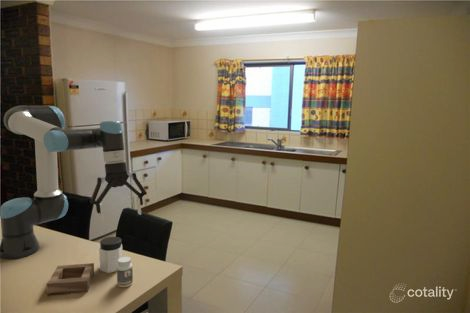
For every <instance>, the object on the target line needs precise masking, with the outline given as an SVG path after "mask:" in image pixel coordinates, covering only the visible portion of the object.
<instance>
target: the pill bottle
mask: <svg viewBox="0 0 470 313" xmlns="http://www.w3.org/2000/svg"><path fill="white" fill-rule="evenodd" d="M133 279H134V276H133V263H132V258H131V257H130V256H122V257H121V258H119V259H118V266H117V271H116V285H117V286H118V287H119V288H127V287H130V286H131V285H132V284H133V283H134V280H133Z"/></svg>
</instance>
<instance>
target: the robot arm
mask: <svg viewBox="0 0 470 313" xmlns="http://www.w3.org/2000/svg"><path fill="white" fill-rule="evenodd" d="M3 124H4V127H5V128H6V129H7V130H8V131H10V132H12V133H14V134H16V135H24V136H27V137H30V138H31V139H34V149H35V151H34V152H35V168H36V169H35V170H36V187H37V188H36V189H37V190H36V191H35V192H34V193H33V199H32V198H30V197H25V196H24V197H17V198H13V199H9V200H8V201H5V202H4V203H3V204H2V205H1V206H0V227H1V240H0V258H1V259H6V260H12V259H13V260H15V259H21V258H25V257H28V256H30V255H33V254H34V253H36V252H38V251H39V248H40V243H39V240H38V238H37V236H36V234H35V231H34V226H37V225H40V224H44V223H49V222H51V221H56V220H58V219H61V218H63V217H64V216H66V214H67V212H68V209H69V202H68V197H67V196H66V195H65V194H64V193H63V190H60V188H59V170H58V153H62V152H69V151H79V150H87V149H88V150H89V149H99V148H102V153H103V154H102V155H103V162H104V171H105V175H104V176H105V177H101V176H98V177H97V179H96V185H95V187H94V191H93V193H92V196H91V197H90V200H89V202H90V204H91V205H95V208H96V213H97V214H100V215H99V216H100V221H101V222H102V223H104V222H105V219H104V218H105V217H104V210H103V208H104V207H103V204H102V201H103V200H104V198H105V197H106V195H107V194H108V193H109V191H110V190H111V189H112V188H118V187H123V186H126V187H127V188H128V189H129V190H130V191H132V192H133V194H134V195H136V197H135V199H136V201H135V202H136V210H137V214H138V215H139V216H141V215H142V207H141V206H143V205H144V201H143V197H144V196H146V195H147V191H146V190H145V188H144V187H143V184H141V182H140V181H139V179H138V177H137V174H136V172H131V173H128V170H127V162H126V161H125V160H126V152H125V145H124V144H125V143H124V135H123V132H124V131H123V128H122V122H121V121H119V120H106V121H101V122H100V123H99V127H98V128H97V127H96V128H83V129H82V128H81V129H79V128H77V129H65V127H66V118H65V116H64V114H63V112H62V110H61V109H60V108H59V107H57V106H54V105H17V106H16V105H15V106H13V107H11V108H9V109H8V110H7V111H6V112H5V114H4V116H3ZM129 178H130V179H131V180H133V182H134V183H135V185H136V186H137V188H138V190H140V191H138V190H137V189H136V188H135V187H133V185H131V184H130V182H128V180H129ZM104 181H105V182H106V183H107V184H106V186H105V188H104V189H103V190H102V191H101V193H100V195H99V196H98V194H99V191H100V189H101V186H102V184H103V183H104ZM97 196H98V198H97Z"/></svg>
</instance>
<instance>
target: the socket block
mask: <svg viewBox="0 0 470 313" xmlns="http://www.w3.org/2000/svg"><path fill="white" fill-rule="evenodd" d="M94 275H95V263H94V262H93V263H92V262H91V263H79V264H63V265H57V266H56V267H55V270H54V272H52V274H51V276H50V278H49V280H48V281H47V283H46V289H47V290H46V291H47V297H49V296H50V297H51V296H52V297H53V296H57V295H58V296H61V295H69V294H71V293H73V294H82V292H84V293H88V291H89V289H90V287H91V285H92V280H93V278H94ZM71 295H72V294H71Z"/></svg>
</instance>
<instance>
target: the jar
mask: <svg viewBox="0 0 470 313" xmlns="http://www.w3.org/2000/svg"><path fill="white" fill-rule="evenodd" d="M99 245H100V246H99V250H98V252H99V270H100V271H101V272H103V273H107V274H110V273H113V272H114V273H115V272H117V266H118V259H119V258H121V257H123V244H122V238H121V237H119V236H108V237H104V238H101V240H100V241H99Z"/></svg>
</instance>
